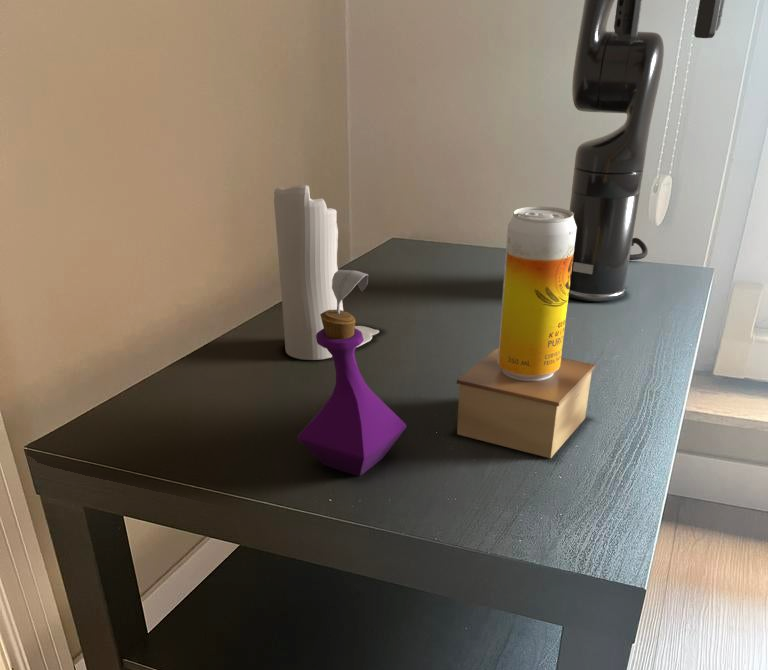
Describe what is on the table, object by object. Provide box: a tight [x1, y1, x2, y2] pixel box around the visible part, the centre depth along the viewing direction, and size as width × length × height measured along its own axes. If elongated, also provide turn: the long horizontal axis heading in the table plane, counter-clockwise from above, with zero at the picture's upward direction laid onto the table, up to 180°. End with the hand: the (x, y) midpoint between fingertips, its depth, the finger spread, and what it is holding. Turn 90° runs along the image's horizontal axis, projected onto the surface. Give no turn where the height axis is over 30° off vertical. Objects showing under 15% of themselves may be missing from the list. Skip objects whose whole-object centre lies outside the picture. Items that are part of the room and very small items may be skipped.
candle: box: [273, 184, 380, 361], centre depth 97 cm, size 7×14×20 cm, turn 137°
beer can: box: [498, 206, 577, 381], centre depth 75 cm, size 6×6×15 cm
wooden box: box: [456, 346, 596, 459], centre depth 81 cm, size 10×10×6 cm
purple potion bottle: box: [296, 269, 407, 477], centre depth 71 cm, size 8×8×18 cm
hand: (665, 39), depth 75 cm, fingers open, 8 cm apart
